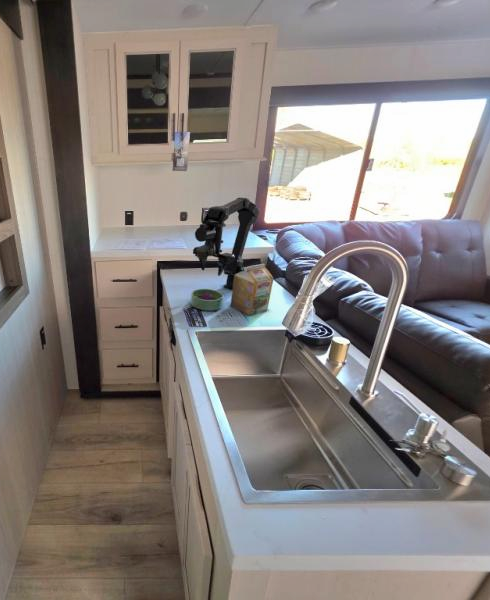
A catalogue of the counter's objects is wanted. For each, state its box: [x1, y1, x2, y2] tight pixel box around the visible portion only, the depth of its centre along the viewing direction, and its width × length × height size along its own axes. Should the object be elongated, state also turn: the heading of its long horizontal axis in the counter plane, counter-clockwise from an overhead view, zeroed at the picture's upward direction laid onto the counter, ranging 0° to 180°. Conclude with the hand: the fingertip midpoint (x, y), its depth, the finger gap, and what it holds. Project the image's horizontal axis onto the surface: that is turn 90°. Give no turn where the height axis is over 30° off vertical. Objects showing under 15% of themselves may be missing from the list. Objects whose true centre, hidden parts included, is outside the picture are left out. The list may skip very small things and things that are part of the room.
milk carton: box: [229, 263, 274, 316], centre depth 130 cm, size 11×11×19 cm
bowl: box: [190, 288, 224, 312], centre depth 136 cm, size 13×13×5 cm
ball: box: [201, 293, 213, 300], centre depth 136 cm, size 5×5×5 cm
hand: (210, 272), depth 139 cm, fingers open, 9 cm apart
